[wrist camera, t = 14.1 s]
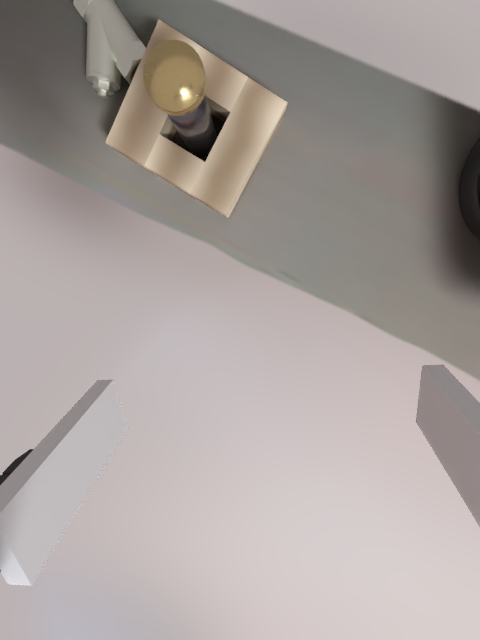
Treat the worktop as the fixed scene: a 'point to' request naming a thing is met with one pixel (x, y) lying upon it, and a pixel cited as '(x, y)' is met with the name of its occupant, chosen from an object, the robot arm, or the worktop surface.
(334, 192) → the worktop surface
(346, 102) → the worktop surface
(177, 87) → the gold-capped peg
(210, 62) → the socket block
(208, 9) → the worktop surface
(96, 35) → the pipe fitting
